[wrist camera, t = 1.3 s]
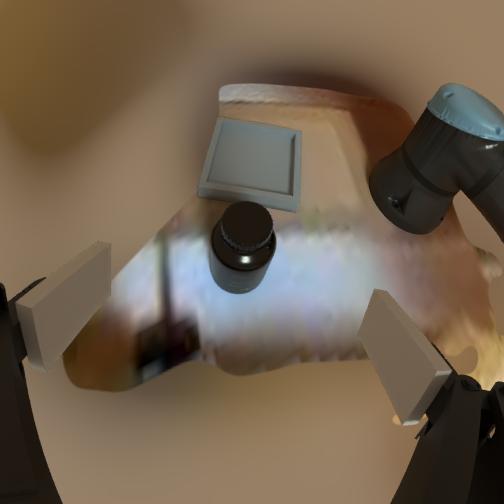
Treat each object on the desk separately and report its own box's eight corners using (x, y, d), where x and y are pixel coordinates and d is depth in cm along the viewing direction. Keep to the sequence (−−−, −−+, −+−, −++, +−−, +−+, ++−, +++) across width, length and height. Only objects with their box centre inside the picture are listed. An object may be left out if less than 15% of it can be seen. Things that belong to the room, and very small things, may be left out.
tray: (298, 141, 50) (301, 131, 48) (295, 212, 43) (300, 203, 41) (217, 127, 49) (218, 117, 47) (198, 196, 43) (197, 186, 40)
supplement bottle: (204, 252, 39) (202, 197, 28) (254, 240, 41) (270, 184, 30) (218, 302, 37) (221, 263, 26) (271, 288, 38) (295, 245, 27)
